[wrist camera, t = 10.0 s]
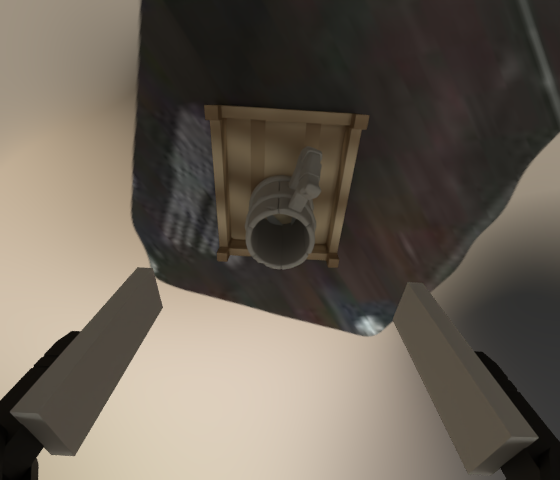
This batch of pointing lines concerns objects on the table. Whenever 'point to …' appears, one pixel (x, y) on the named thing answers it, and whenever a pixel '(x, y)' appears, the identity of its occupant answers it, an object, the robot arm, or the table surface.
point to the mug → (290, 201)
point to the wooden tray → (281, 167)
